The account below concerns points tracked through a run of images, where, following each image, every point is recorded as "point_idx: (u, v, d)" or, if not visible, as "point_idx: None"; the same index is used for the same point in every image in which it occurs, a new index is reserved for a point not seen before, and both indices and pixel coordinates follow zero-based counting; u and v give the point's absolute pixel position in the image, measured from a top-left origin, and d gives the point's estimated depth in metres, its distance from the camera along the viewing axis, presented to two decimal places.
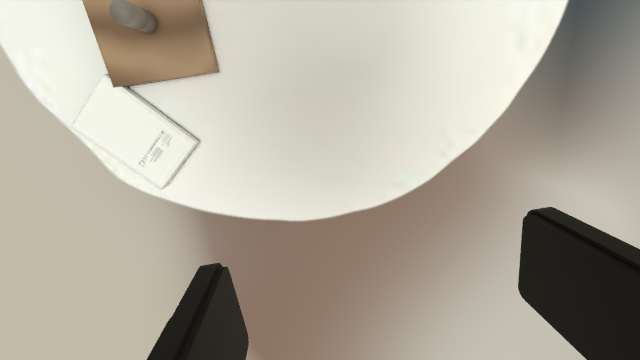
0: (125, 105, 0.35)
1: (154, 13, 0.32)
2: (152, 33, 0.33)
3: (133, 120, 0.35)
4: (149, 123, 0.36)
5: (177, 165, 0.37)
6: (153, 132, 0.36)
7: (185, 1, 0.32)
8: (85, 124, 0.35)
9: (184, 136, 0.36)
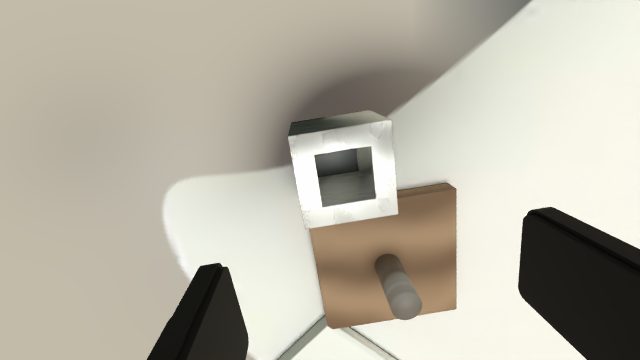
0: (347, 352, 0.28)
1: (398, 255, 0.25)
2: None
3: None
4: None
5: None
6: None
7: (440, 241, 0.25)
8: None
9: None
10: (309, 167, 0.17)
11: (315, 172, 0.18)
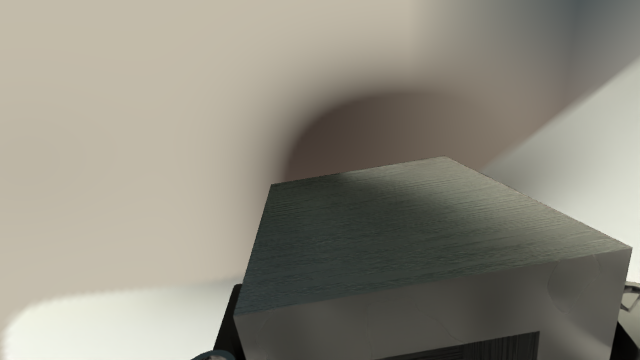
0: None
1: None
2: None
3: None
4: None
5: None
6: None
7: None
8: None
9: None
10: None
11: None
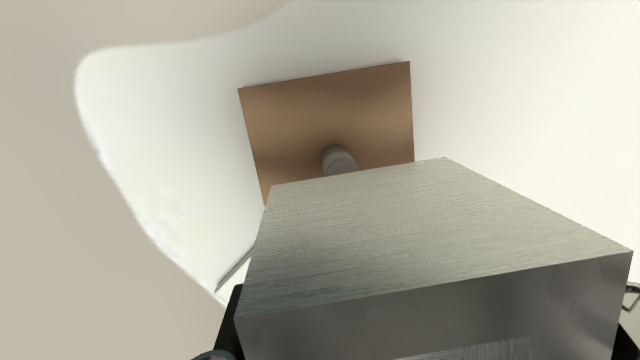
0: None
1: (347, 146, 0.22)
2: None
3: None
4: None
5: None
6: None
7: (394, 129, 0.22)
8: None
9: None
10: None
11: None
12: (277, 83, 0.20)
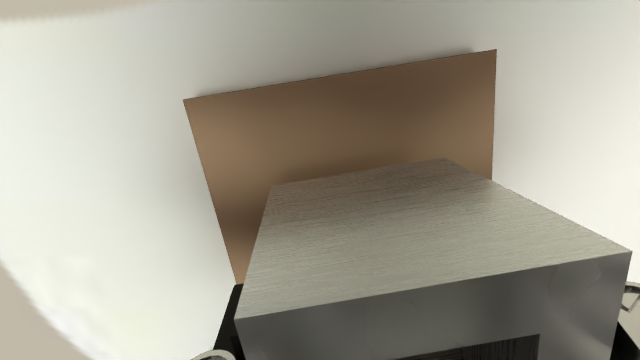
0: None
1: None
2: None
3: None
4: None
5: None
6: None
7: None
8: None
9: None
10: None
11: None
12: (256, 90, 0.11)
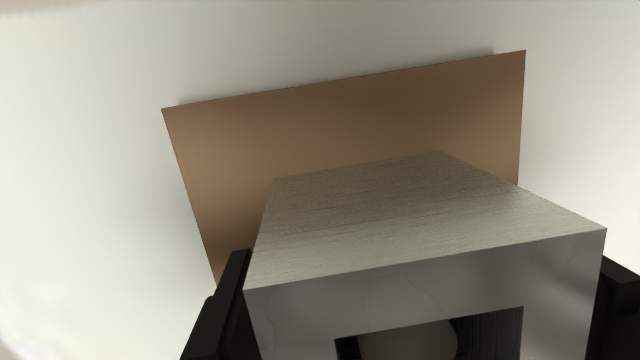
0: None
1: None
2: None
3: None
4: None
5: None
6: None
7: None
8: None
9: None
10: None
11: None
12: (246, 97, 0.10)
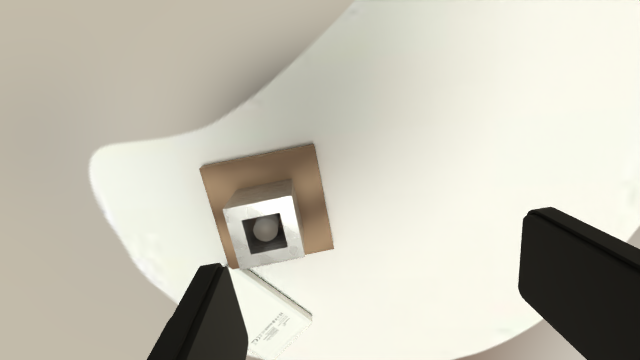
0: (248, 291, 0.34)
1: None
2: None
3: (253, 304, 0.35)
4: (269, 306, 0.35)
5: (290, 342, 0.37)
6: (271, 314, 0.35)
7: (309, 190, 0.32)
8: None
9: (302, 317, 0.36)
10: (239, 228, 0.26)
11: (243, 231, 0.26)
12: (226, 164, 0.30)
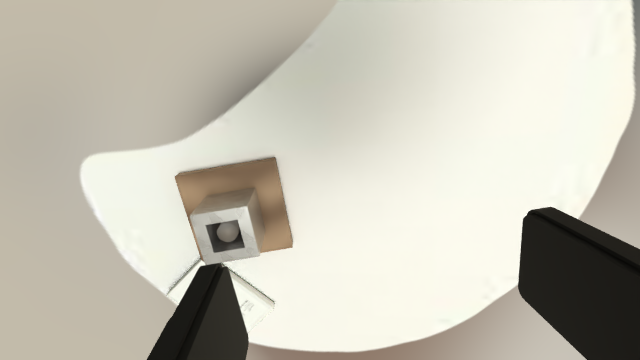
0: None
1: None
2: None
3: None
4: (236, 294, 0.41)
5: (255, 325, 0.43)
6: (238, 301, 0.41)
7: (270, 197, 0.37)
8: (179, 294, 0.40)
9: (265, 304, 0.42)
10: (203, 231, 0.31)
11: (207, 234, 0.31)
12: (197, 173, 0.35)
